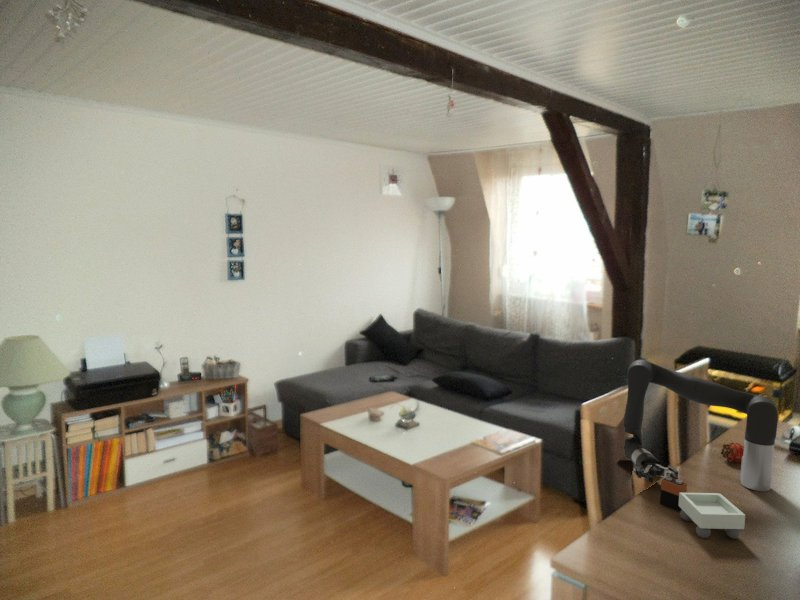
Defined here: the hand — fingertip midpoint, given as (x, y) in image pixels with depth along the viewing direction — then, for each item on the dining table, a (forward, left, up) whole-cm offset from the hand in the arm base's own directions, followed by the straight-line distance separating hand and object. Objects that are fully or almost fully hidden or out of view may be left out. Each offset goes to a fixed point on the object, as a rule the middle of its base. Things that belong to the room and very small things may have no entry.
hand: (664, 480), depth 194 cm
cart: (+21, +5, -6) cm, 22 cm away
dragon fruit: (-33, +43, -6) cm, 55 cm away
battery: (+7, 0, -6) cm, 9 cm away
